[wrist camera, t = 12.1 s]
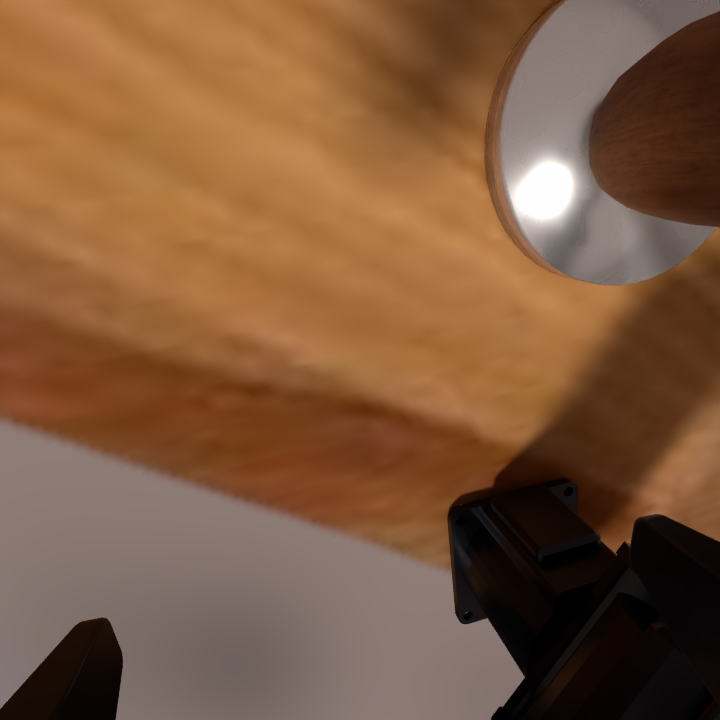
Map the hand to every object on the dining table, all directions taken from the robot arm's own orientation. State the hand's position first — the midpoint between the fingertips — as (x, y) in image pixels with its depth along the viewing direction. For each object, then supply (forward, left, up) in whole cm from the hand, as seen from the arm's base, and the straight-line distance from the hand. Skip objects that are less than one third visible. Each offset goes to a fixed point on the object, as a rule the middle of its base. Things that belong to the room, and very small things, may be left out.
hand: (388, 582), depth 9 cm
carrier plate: (+7, -14, -12) cm, 20 cm away
